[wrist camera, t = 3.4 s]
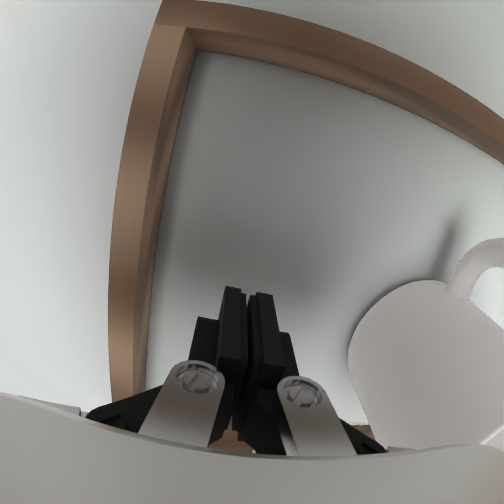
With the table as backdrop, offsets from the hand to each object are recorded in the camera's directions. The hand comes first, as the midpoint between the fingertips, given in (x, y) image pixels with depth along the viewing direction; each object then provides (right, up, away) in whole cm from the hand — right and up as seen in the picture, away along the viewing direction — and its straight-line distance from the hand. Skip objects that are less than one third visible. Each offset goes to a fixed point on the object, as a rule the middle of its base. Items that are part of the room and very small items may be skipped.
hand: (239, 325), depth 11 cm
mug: (+10, -1, +5) cm, 11 cm away
